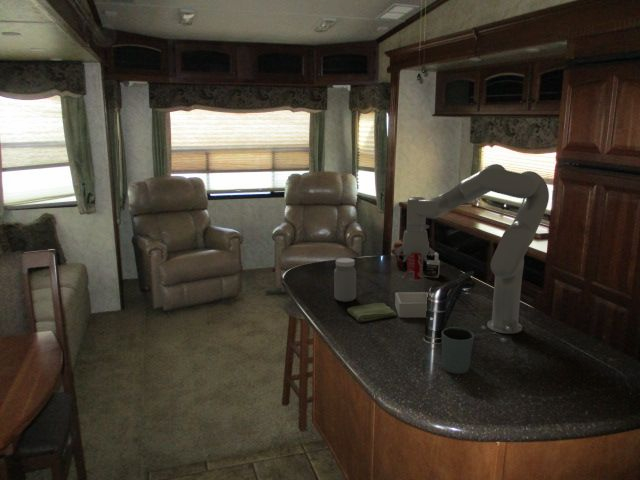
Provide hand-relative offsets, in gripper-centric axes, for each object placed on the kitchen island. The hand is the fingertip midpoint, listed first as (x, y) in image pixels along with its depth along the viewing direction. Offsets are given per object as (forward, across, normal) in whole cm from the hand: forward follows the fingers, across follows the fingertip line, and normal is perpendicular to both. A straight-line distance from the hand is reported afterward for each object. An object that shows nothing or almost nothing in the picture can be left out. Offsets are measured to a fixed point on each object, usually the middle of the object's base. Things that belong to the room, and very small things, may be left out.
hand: (414, 270), depth 218 cm
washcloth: (+19, +18, +3) cm, 26 cm away
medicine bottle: (+18, -17, -51) cm, 57 cm away
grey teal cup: (+18, -6, +51) cm, 54 cm away
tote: (+18, 0, 0) cm, 18 cm away
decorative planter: (+18, -8, -70) cm, 73 cm away
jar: (+18, +28, -16) cm, 37 cm away
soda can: (+4, 0, 0) cm, 4 cm away
